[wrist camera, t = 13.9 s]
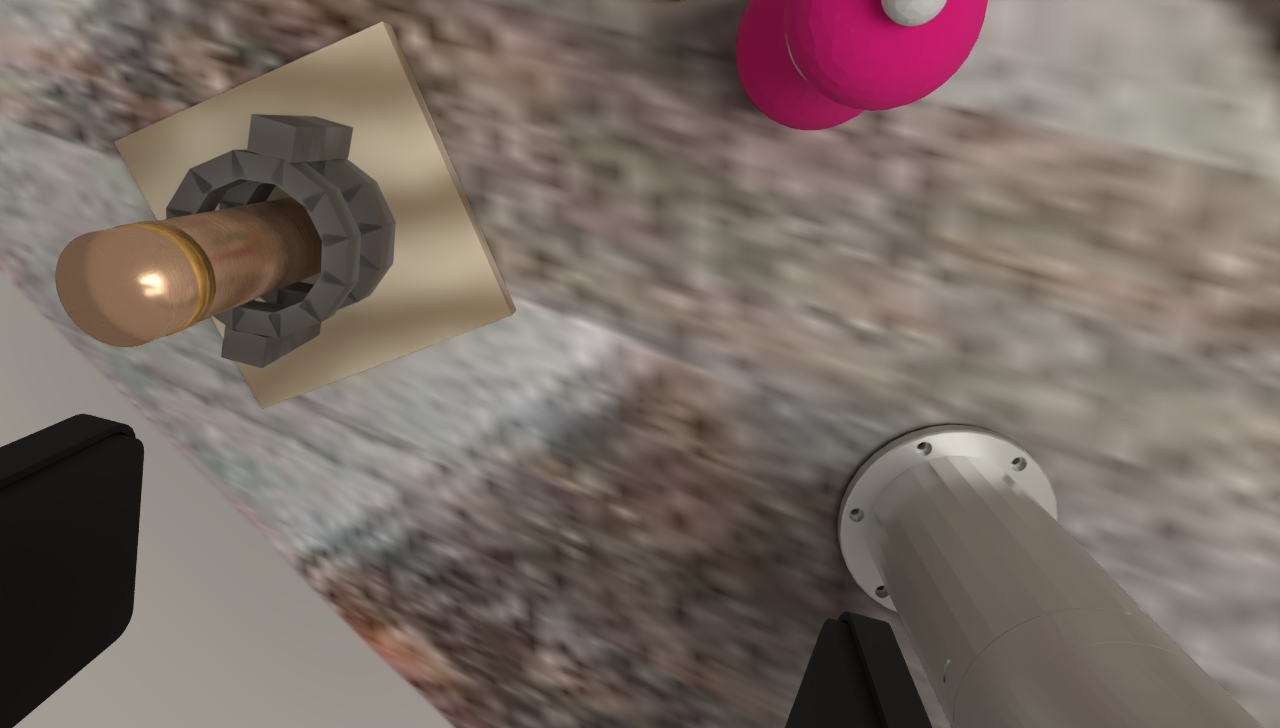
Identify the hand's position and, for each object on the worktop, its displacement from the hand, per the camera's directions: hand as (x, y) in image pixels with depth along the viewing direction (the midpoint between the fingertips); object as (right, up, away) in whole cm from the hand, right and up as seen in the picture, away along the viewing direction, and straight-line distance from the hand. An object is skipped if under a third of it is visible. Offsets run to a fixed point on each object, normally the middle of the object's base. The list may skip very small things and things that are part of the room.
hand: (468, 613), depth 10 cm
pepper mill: (+10, +19, +29) cm, 36 cm away
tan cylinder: (-15, +10, +31) cm, 36 cm away
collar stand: (-15, +11, +32) cm, 37 cm away
